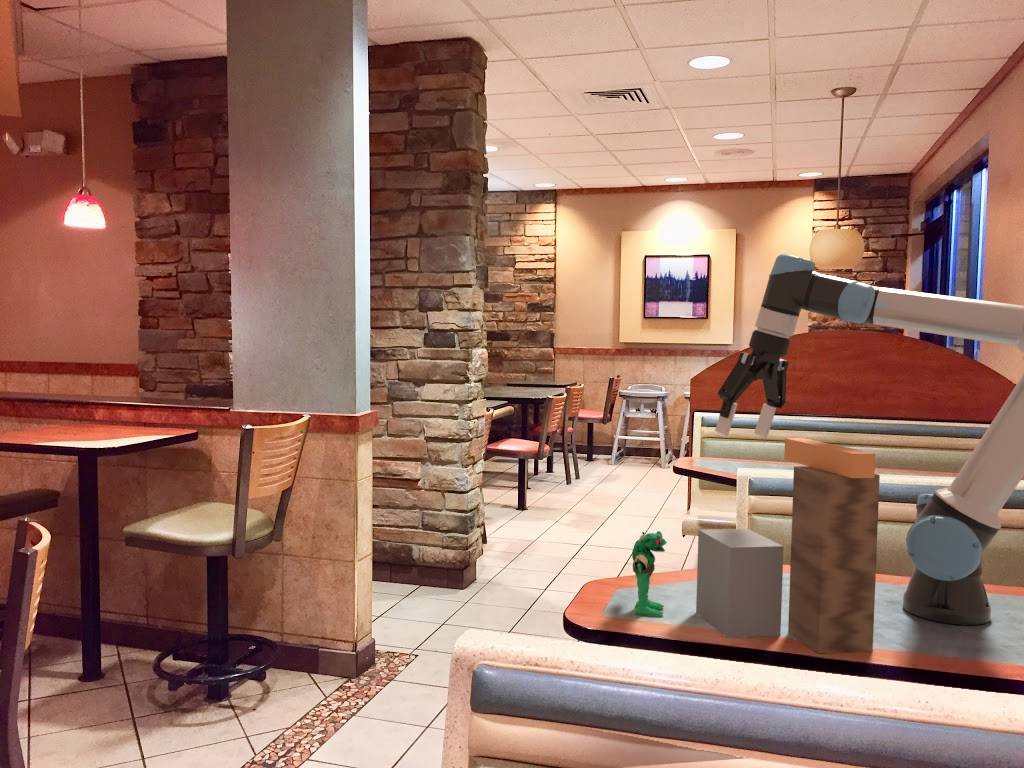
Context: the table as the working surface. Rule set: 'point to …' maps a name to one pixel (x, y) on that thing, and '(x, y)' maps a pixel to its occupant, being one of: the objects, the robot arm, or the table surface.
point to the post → (833, 560)
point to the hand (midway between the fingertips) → (741, 434)
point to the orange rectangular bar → (830, 457)
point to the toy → (646, 571)
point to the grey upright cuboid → (739, 582)
